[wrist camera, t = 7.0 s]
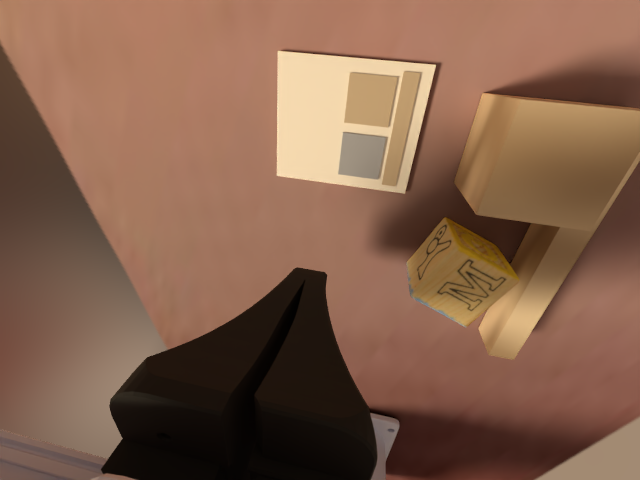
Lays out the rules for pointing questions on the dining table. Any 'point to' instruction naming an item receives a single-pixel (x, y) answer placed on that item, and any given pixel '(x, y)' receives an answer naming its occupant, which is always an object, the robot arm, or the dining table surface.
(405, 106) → the card
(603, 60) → the dining table surface
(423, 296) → the alphabet block
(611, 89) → the dining table surface
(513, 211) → the maple cube
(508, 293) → the backstop
